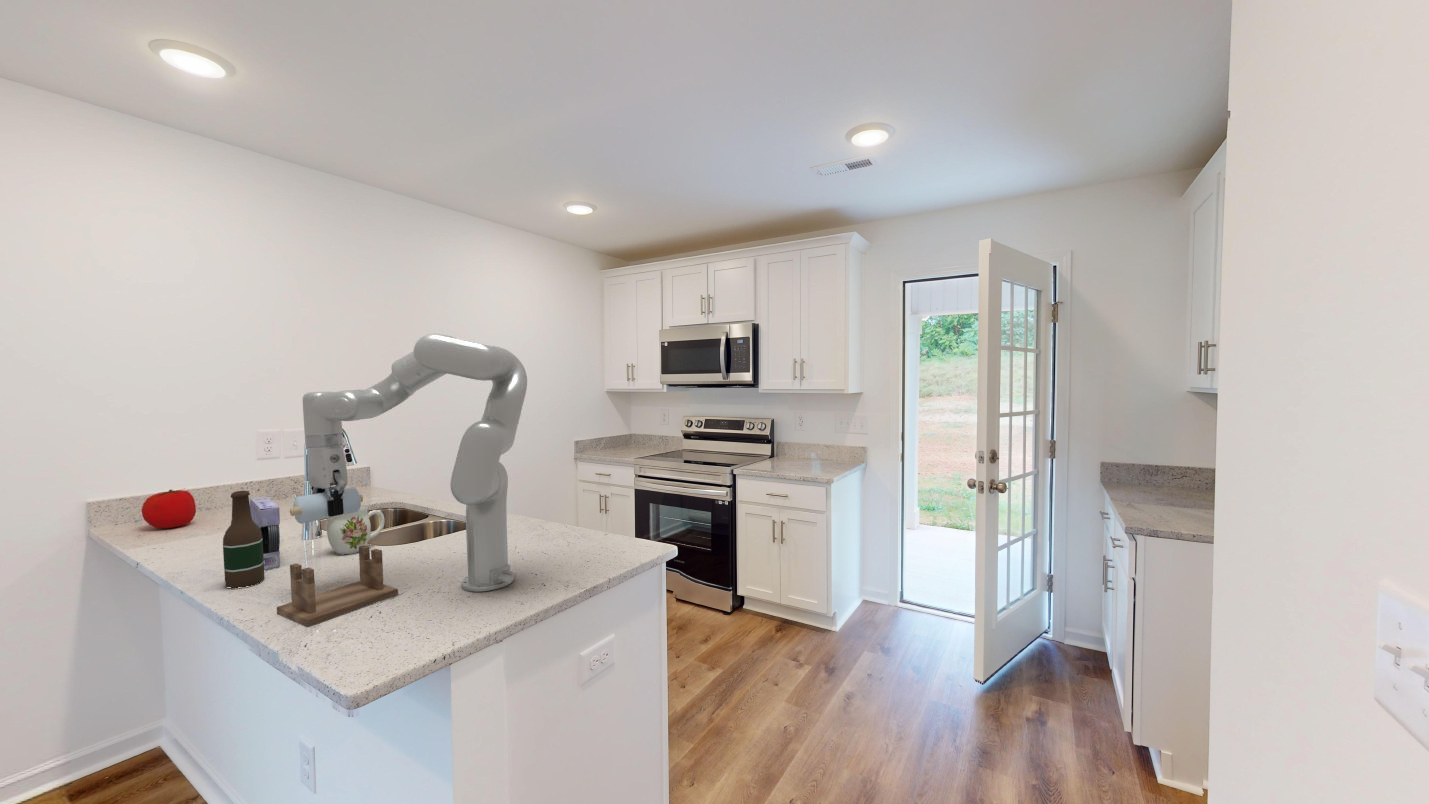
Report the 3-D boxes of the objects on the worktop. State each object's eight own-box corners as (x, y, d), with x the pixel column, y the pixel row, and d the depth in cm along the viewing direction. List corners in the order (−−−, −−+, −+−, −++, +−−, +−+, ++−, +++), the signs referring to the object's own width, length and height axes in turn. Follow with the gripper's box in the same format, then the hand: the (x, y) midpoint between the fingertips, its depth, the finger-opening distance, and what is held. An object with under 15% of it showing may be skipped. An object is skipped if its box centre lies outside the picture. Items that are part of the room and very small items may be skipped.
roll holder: (398, 594, 131) (396, 550, 130) (307, 627, 114) (305, 575, 114) (366, 584, 138) (364, 541, 137) (277, 613, 121) (274, 565, 121)
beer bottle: (241, 578, 143) (235, 488, 142) (272, 577, 144) (267, 487, 142) (216, 590, 135) (210, 495, 134) (250, 588, 136) (244, 494, 135)
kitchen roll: (367, 513, 139) (367, 488, 138) (298, 528, 126) (297, 501, 125) (354, 507, 142) (354, 483, 142) (285, 521, 129) (285, 495, 129)
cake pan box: (283, 568, 151) (280, 505, 150) (260, 573, 147) (256, 508, 146) (271, 553, 164) (268, 495, 163) (249, 557, 160) (246, 498, 159)
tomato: (202, 525, 197) (200, 488, 197) (149, 535, 186) (146, 495, 185) (188, 519, 206) (186, 484, 205) (136, 528, 194) (134, 491, 193)
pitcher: (393, 545, 170) (391, 502, 169) (327, 562, 155) (325, 514, 155) (376, 539, 176) (375, 498, 176) (311, 555, 161) (309, 509, 161)
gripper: (358, 441, 132) (363, 514, 133) (324, 438, 141) (328, 506, 142) (324, 445, 125) (328, 521, 126) (290, 442, 134) (295, 513, 135)
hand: (328, 513), depth 134 cm, fingers closed on kitchen roll, 6 cm apart
